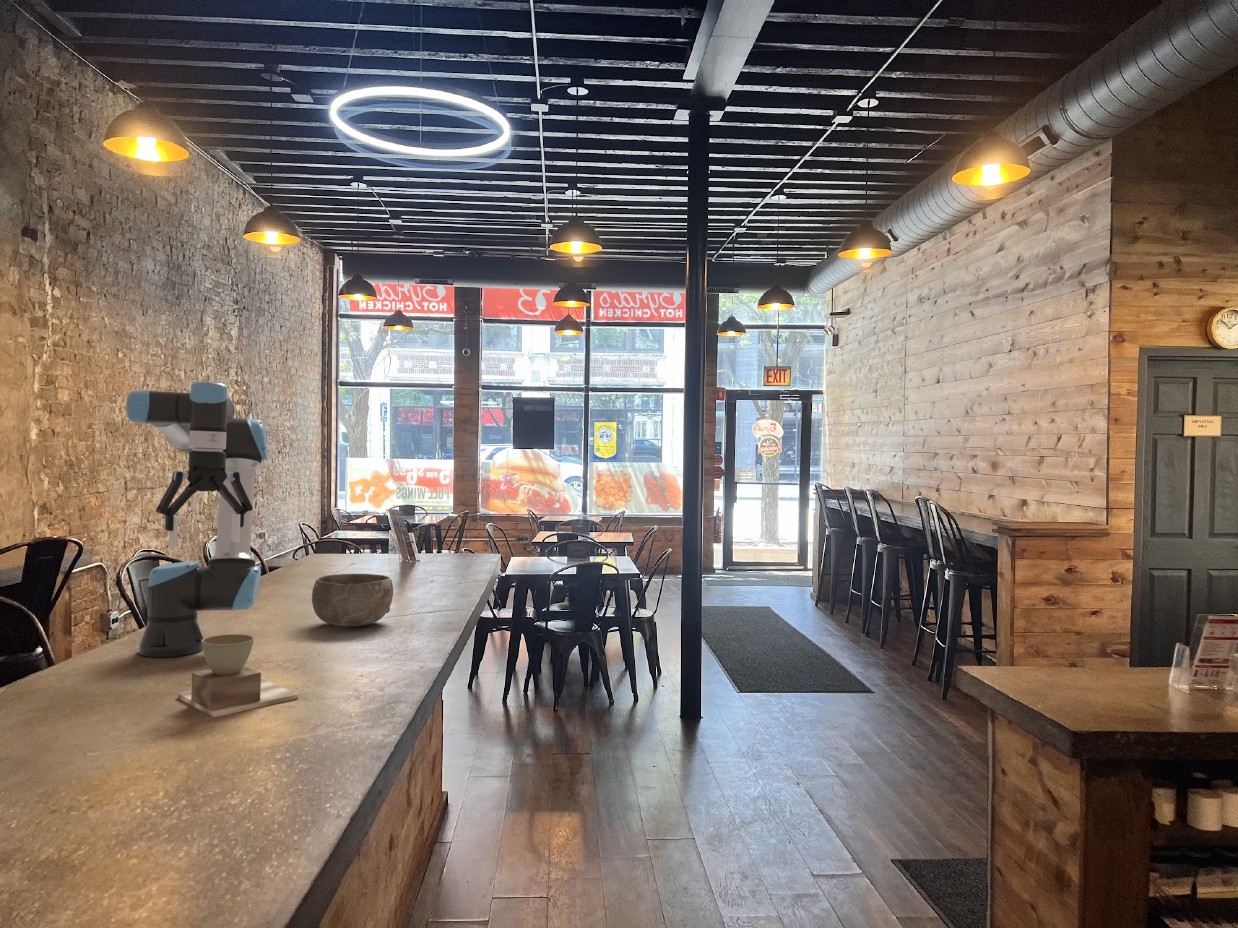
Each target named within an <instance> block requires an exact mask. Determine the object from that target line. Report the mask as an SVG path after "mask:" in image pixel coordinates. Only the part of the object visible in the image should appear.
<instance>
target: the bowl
mask: <svg viewBox="0 0 1238 928" xmlns="http://www.w3.org/2000/svg"><path fill="white" fill-rule="evenodd" d="M393 597H394V584H393V580H392V578H391V577H390V576H388V575H383V574H376V573H375V574H373V573H341V574H330V575H329V574H328V575H323V576H320V577H317V579H316V580H315V582H314V584H313V587H312V592H311V602H312V608H313V610H314V611H313V612H314V613H315V615H316V617H318V618H319V619H320V620H321V621H322V622H324V623H326V624H329V625H331V626H336V627H342V628H343V627H344V628H345V627H348V628H349V627H350V628H351V627H363V626H368V625H371V624H375V623H377V622H378V621H380V620H382V619H383V617H384V616H386V614H389V613H390V611H391V605H392V603H393Z"/></svg>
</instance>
